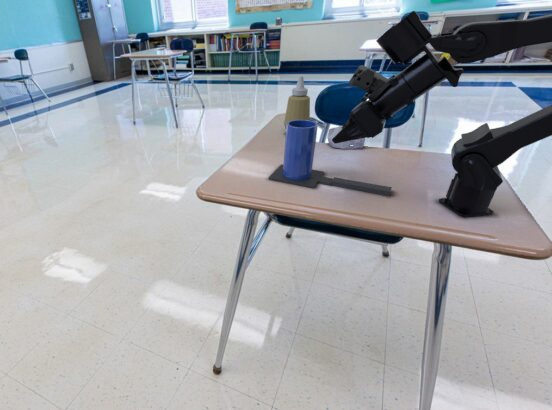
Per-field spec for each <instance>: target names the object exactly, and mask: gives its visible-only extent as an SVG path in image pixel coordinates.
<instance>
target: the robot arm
mask: <svg viewBox="0 0 552 410" xmlns="http://www.w3.org/2000/svg"><path fill="white" fill-rule="evenodd" d="M375 42H376V43H377V44H378V46H379V47H380V48H381V50H383V53H385V54H386V55H387V57H388V58H389V60H391V62H392V63H393V64H394V65H397V64H398V63H399V64H402V65H404V66H405V65H407V64H408V63H410V62H411V61H412V60H414V59H415V58H416V57H418V56H420V54H422V53H423V52H424V53H425V54H423V55H422V56H421V57H419V58H418V59H416V60H415V61H414V62H413V63H411V64H409V65H408V66H407V67H405V68H404V69H403V70H401V71H400V72H398V74H392V75H391V76H389V77H388V78H387V77H386V76H384V75H382V74H381V73H379V72H377V71H376V70H374V69H372V68H371V67H368V66H365V65H363V64H361V65H359V66H358V67H357V69H356V70H355V72H354V73H353V75H352V77H351V78H350V79H349V81H348V84H349V85H350V86H352V87H354V88H355V87H356V88H358V89H360V90H361V91H363V92H365V94H364V95H363V97H362V98H361V100H360V102H359V104H357V105H355V107H353V109H352V110H351V111H350V113H349V119H348V120H347V121H346V122H345V123H344V124H343V125H341V126H342V130H341V131H340V132H339V133H338V134H337V135H336V136H335V137H334V138H333V139H332V141H333V142H334V143H335V144H336V143H341V142H346V141H351V140H356V139H362V138H365V139H366V138H367V139H373V138H375V137H376V136H378V135H380V134H381V133H383V131H384V128H385V125H386V122H387V121H388V120H391V119H392V118H393V116H394V115H395V114H396V113H398V112H399V111H401V110H402V109H404V108H405V107H410V106H411V105H413V104H414V103H415V101H416V100H417V99H419V98H420V97H422V96H424V95H425V94H426V93H428V92H429V91H431V90H433V89H434V88H436V87H437V86H438V85H440V84H441V83H443V82H445V81H446V80H447V81H448V82H449V84H450V85H451V86H452V87H453V88H457V87H458V86H459V81H460V78H461V76H462V74H463V73H464V69H463V68H462V67H460V68H455V67H454V66H453V64H452V63H451V61H450V60H449V59H448V58H447V57H446V56H445V55H444V56H441V57H440V58H437V56H436V55H435V54H434V52H432V50H431V49H430V48H429V47H428V45H430V46H431V47H432V48H433V50H434V51H436V52H440V53H444V54H448V55H449V56H450V58H451V59H452V60H453V61H455V62H457V63H458V64H472V63H473V64H474V63H476V62H480V61H482V60H486V59H489V58H493V57H496V56H500V55H503V54H505V53H508V52H511V51H513V50H517V49H520V48H523V47H530V46H535V45H541V44H548V43H552V14H545V15H540V16H536V17H531V18H525V19H508V20H485V21H483V20H482V21H471V22H467V23H465V24H464V23H463V24H462V25H461V26H459V27H458V28H457V29H455V30H454V31H449V32H442V33H441V32H440V31H439V32H438V33H436V34H432V33H431V32H430V30H429V29H428V28H427V27H426V25H425V24H424V22H423V21H422V20H421V17H420V15H419V14H418V13H417V12H416V10H412V11H411V12H410V13H408V14H407V15H406V16H405V17H404V18H402V19H401V20H400V21H398V23H396V24H393V25H392V26H391V27H390V28H388V30H386V31H385V32H384V33H383V34H381V36H379V37H378V38H377V39H376V40H375ZM460 136H461V137H460V138H459V139H457V140H456V141H455V142H454V143H453V145H452V147H451V150H450V152H451V153H450V155H451V165H452V168H453V170H454V171H455V173H454V176H453V178H452V179H451V181H450V184H449V187H448V189H447V191H446V194H445V197H443V198H442V197H441V198H439V199H438V203H440V204H442V205H443V206H444V207H446V208H447V209H449V210H450V211H452V212H453V213H455V214H456V215H458V216H460V217H462V218H466V217H467V218H468V217H478V216H487V215H494V213H495V211H494V210H492V209H491V208H489V207H490V204H491V203H492V201H493V198H494V196H495V194H496V191H497V189H498V187H500V186H501V184H503V182H504V180H503V177H502V174H501V172H500V169H499V166H500V165H502V164H503V163H504V162H506V161H507V160H508V159H510V158H511V157H512V156H513V155H514V154H516V153H517V152H519V150H521V149H523V148H525V147H527V146H530V145H533V144H535V143H537V142H539V141H542V140H544V139H546V138H549V137H552V104H550V105H547V106H546V107H544V108H542V109H539V110H537V111H536V112H533V113H531V114H529V115H526V116H524V117H522V118H520V119H518V120H516V121H513V122H512V123H509V124H507V125H504V126H499V127H495V128H490V126H489V124H488V122H485V123H483V124H481V125H479V126H478V127H476V128H475V129H473V130H471V131H469V132H465V133H461V135H460Z"/></svg>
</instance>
